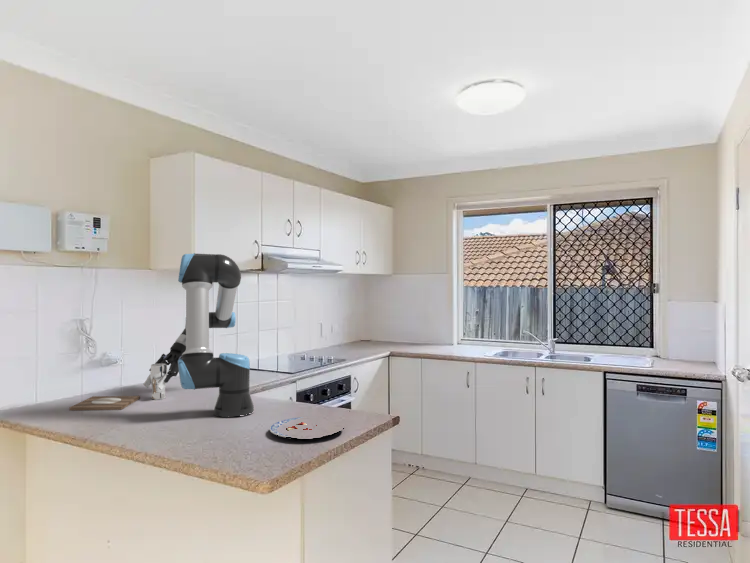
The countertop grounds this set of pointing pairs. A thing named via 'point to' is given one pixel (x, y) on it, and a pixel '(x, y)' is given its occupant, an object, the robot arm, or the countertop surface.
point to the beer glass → (158, 380)
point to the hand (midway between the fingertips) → (152, 386)
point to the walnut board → (105, 403)
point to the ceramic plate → (274, 428)
